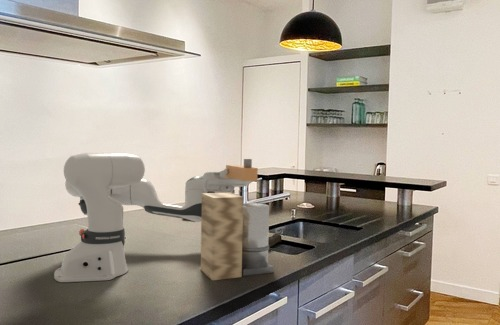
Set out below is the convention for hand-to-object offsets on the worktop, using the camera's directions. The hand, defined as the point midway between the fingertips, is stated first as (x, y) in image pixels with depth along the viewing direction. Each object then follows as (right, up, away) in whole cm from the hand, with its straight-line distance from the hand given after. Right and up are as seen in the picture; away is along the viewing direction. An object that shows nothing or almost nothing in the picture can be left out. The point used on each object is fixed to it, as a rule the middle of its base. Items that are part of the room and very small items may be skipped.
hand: (234, 170), depth 165 cm
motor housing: (+6, -34, -15) cm, 38 cm away
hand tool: (+15, -33, +18) cm, 40 cm away
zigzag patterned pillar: (-4, -34, -20) cm, 40 cm away
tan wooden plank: (+2, -3, -5) cm, 7 cm away
